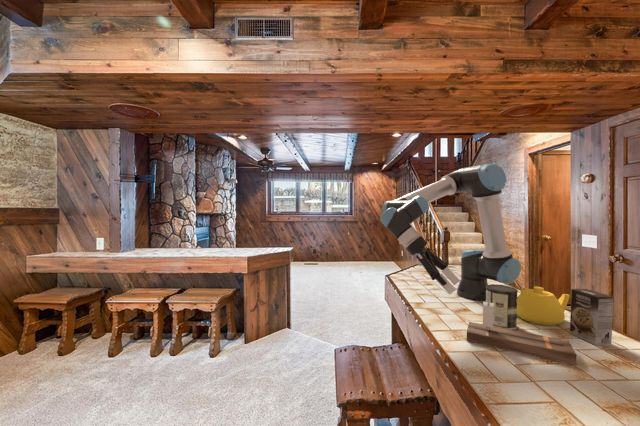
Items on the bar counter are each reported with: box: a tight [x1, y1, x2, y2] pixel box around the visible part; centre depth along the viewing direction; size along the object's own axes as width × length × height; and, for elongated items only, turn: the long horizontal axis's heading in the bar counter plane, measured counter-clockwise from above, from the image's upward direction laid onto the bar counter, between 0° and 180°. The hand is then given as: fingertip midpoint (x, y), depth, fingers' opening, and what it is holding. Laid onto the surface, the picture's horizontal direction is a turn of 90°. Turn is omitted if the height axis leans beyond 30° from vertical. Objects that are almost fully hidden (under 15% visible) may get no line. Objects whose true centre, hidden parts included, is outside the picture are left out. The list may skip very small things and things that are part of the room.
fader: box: [482, 301, 494, 330], centre depth 98 cm, size 4×3×9 cm
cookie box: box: [569, 288, 615, 346], centre depth 99 cm, size 9×6×16 cm
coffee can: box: [485, 284, 519, 330], centre depth 111 cm, size 10×10×14 cm
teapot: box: [517, 286, 571, 326], centre depth 118 cm, size 20×19×13 cm
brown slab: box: [466, 321, 577, 366], centre depth 94 cm, size 10×28×3 cm, turn 59°
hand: (455, 287), depth 103 cm, fingers open, 13 cm apart
